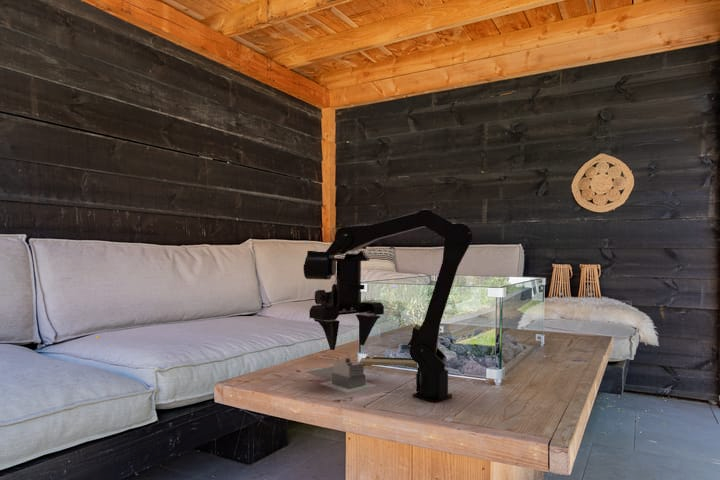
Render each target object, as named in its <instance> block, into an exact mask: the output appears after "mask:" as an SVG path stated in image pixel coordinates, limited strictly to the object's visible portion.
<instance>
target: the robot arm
mask: <svg viewBox="0 0 720 480" xmlns="http://www.w3.org/2000/svg"><path fill="white" fill-rule="evenodd" d="M423 228H426V229H428V230H430V231H432V232H434V233H436V234H437V235H439V236H440V237H442V238H444V244H443V254H442V260H441V261H442V262H441V265H440V269H439V272H438V275H437V279H436V282H435V283H434V288H433V291H432V294H431V297H430V301H429V302H428V303H429V304H428V307H427V310H426V313H425V316H424V319H423V322H422V323H421V325H419V324H415V325H414V327H412V332H411V333H412V334H411V339H410V340H409V341H408V343H407V346H408V347H409V346H410V347H409V350H408V351H409V355H410V358H412V359H413V360H414V361H415V362H416V363H417V373H416V374H415V376H416V377H415V379H416V380H415V382H416V383H415V385H416V386H415V387H416V388H415V391H416V392H414V393H412V397H415V398H417V399H422V400H426V401H428V402H432V403H438V402H440V401H444V400H447V399H450V398H452V397H453V394H452V393H449V370H448V369H446V368H445V367H446V362H447V356H446V355H445V354H444V353H443V351H441V350H440V348H439V347H438V345H439V338H440V337H439V336H440V331H441V330H440V329H441V328H440V327H441V322H442V319H443V315H444V312H445V309H446V306H447V303H448V300H449V297H450V293H451V290H452V288H453V284H454V282H455V278H456V274H457V272H458V268H459V266H460V264H461V262H462V260H463V258H464V256H465V254H466V252H467V251H468V249H469V247H470V245H471V243H472V240H473V232H472V231H471V230H472V229H470V227H468V225H466V224H464V223H460V222H459V223H453V222H451V221H449V220H447V219H446V218H443V217H442V216H440V215H438V214H436V213H435V212H433V211H432V210H430V209H429V208H422V209H420V210H418V211H415V212H412V213H407V214H404V215H400V216H397V217H393V218H389V219H386V220H381V221H378V222H375V223H371V224H370V223H368V224H354V225H345V226H340V227H339V228H338V229H337V230H336V232H335V235H334V240H333V242H332V243H331V244H330V245H329V247H328V248H327V249H326V251H316V250H307V253H306V257H305V260H304V264H303V276H304V277H305V279H306V280H327V281H328V280H331V279H332V277H333V276H336V279H335V280H336V281H335V283H333V284H332V286H331V291H326V290H325V289H316V290H315V291H314V302H315V304H316V305H315V304H314V305H312V306H311V307H310V309H309V313H308V314H309V317H308V318H309V319H313V320H314V321H313V322H316V323H318V324H319V325H320V326H321V327H322V329H323V332H324V335H325V338H326V340H327V344H328V346H329V347H328V348H329V349H330V350H331V351H335V349H336V346H337V340H338V334H339V333H338V332H339V327H340V320H338V317H339V316H343V315H354V314H355V316H356V318H357V321H358V329H359V330H358V332H359V333H358V335H359V337H358V338H359V345H360V346H364V345H365V344H366V342H367V339H368V338H369V336H370V333H371V331H372V330H373V327H375V324H376V323H377V320H379V319H381V315H385V313H384V312H385V306H384V305H383V303H382V302H377V301H370V300H367V301H366V300H365V301H361V297H362V296H361V293H362V292H361V291H362V290H365V284H362V281H361V280H362V262H369V261H370V257H369V256H367V255H366V253H365V252H364V250H360V249H362V248H365V247H366V246H369V245H370V244H372V243H374V242H376V241H378V240H381V239H385V238H389V237H392V236H396V235H400V234H404V233H408V232H411V231H414V230H415V231H416V230H419V229H423ZM358 250H360V251H359V252H358V253H348V252H356V251H358ZM343 255H344V258H340V257H339V258H338V257H337V258H336V257H335V256H343Z"/></svg>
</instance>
